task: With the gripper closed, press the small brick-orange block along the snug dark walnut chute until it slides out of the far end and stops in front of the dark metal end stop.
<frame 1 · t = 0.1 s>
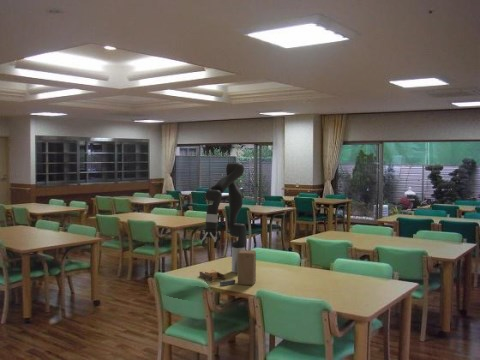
hand: (209, 247, 298), 22 cm above the table, tool pointing down, fingers open, 8 cm apart
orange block: (211, 277, 313), on the table
metal end stop: (227, 284, 294), on the table
walnut chute: (211, 277, 312), on the table
wooden block: (246, 283, 297), on the table
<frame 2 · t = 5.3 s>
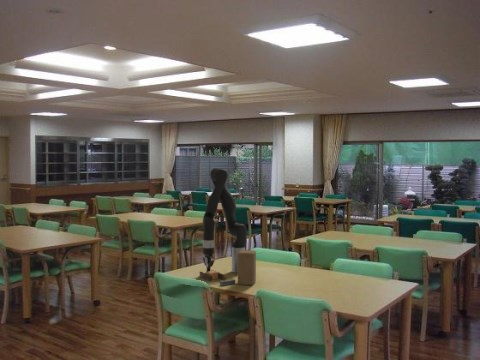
hand: (208, 272, 315), 3 cm above the table, tool pointing down, fingers closed
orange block: (211, 278, 311), on the table
everything else where it was.
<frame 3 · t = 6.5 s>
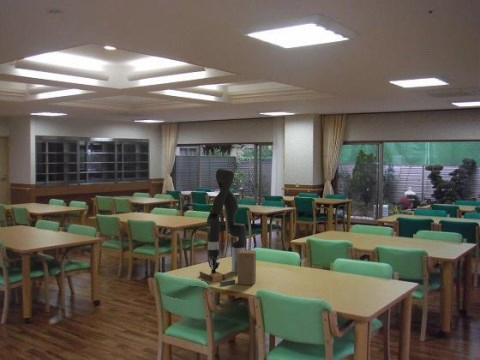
hand: (213, 274, 309), 3 cm above the table, tool pointing down, fingers closed
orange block: (216, 280, 305), on the table, touching gripper
everything else where it was.
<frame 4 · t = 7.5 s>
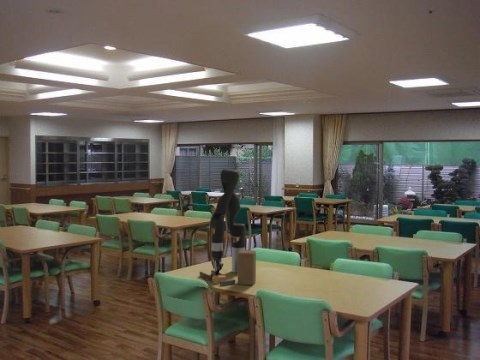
hand: (217, 276, 305), 3 cm above the table, tool pointing down, fingers closed
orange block: (219, 282, 301), on the table
everything else where it was.
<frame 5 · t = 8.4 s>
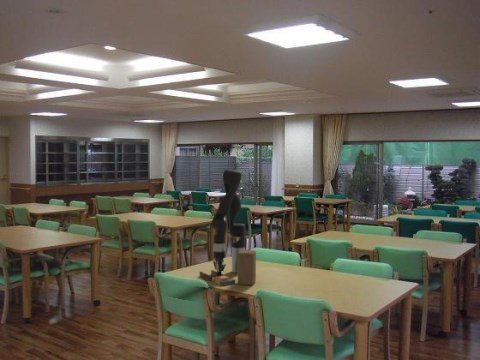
hand: (219, 277, 303), 3 cm above the table, tool pointing down, fingers closed
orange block: (221, 283, 299), on the table, touching gripper
everything else where it was.
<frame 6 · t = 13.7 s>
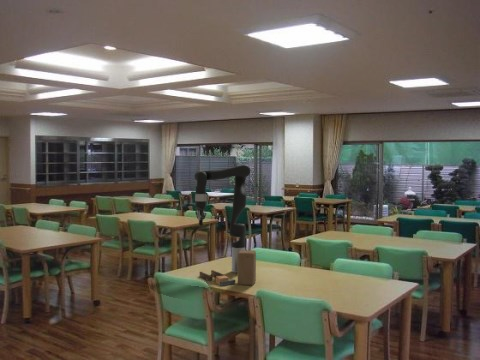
hand: (200, 225, 329), 32 cm above the table, tool pointing down, fingers closed
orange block: (222, 283, 299), on the table
everything else where it was.
at the end: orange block inside the target area (0.6 cm from its centre), on the table; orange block tilted 0°; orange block moved 16.1 cm from its start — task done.
